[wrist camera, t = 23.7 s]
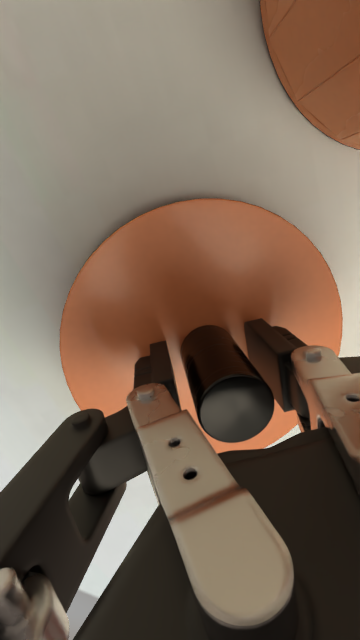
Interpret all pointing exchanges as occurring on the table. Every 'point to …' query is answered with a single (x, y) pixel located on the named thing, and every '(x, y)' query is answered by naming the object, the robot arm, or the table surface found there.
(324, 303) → the lid
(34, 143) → the table surface
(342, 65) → the pot
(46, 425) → the table surface
